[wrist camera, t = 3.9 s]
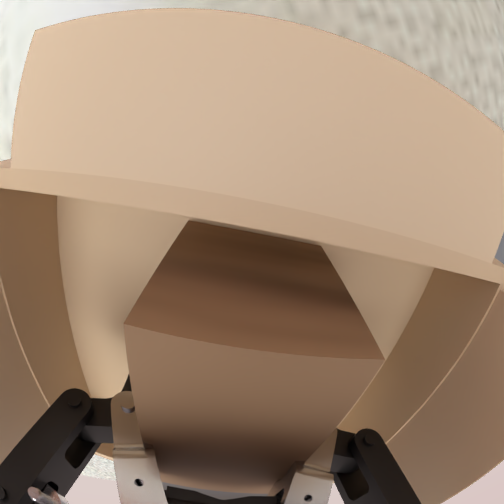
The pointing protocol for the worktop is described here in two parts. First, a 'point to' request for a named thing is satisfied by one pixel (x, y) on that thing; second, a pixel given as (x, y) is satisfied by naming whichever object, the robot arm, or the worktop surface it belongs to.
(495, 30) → the worktop surface
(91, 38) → the carton
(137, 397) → the bar
